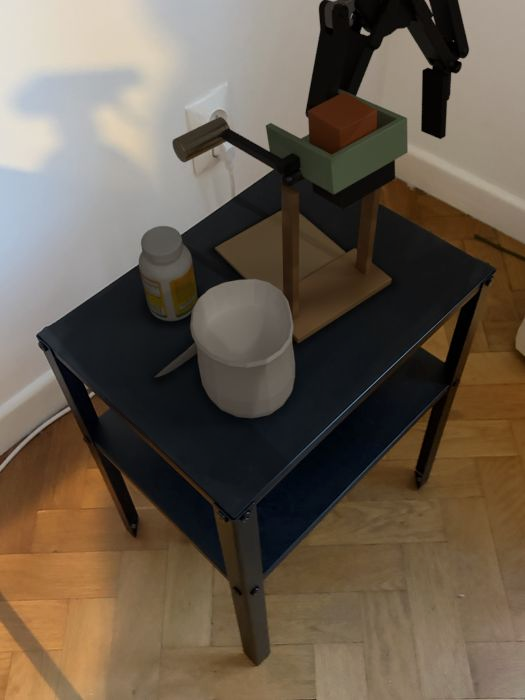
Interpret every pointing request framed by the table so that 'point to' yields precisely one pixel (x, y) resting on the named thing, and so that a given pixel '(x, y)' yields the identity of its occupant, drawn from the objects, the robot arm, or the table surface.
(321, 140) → the block
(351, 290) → the scoop stand
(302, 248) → the mat
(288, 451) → the table surface
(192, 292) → the supplement bottle
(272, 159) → the tilting tray
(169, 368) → the pocket knife
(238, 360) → the cup
